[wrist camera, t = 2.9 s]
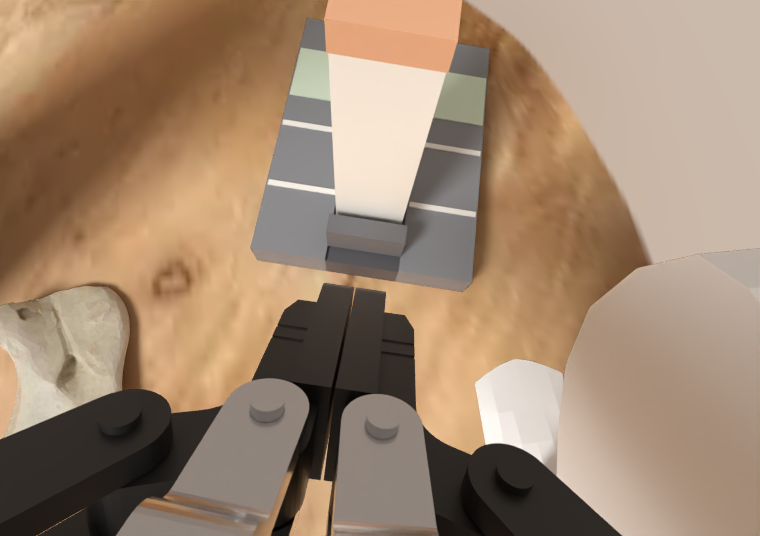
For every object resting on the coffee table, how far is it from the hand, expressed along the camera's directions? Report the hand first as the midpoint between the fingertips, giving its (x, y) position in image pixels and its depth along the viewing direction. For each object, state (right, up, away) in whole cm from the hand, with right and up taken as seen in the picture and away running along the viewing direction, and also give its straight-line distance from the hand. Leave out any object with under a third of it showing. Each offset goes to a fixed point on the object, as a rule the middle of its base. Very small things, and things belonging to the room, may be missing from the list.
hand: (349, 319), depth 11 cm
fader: (0, +5, +14) cm, 15 cm away
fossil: (-15, -6, +13) cm, 20 cm away
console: (+1, +8, +18) cm, 19 cm away
